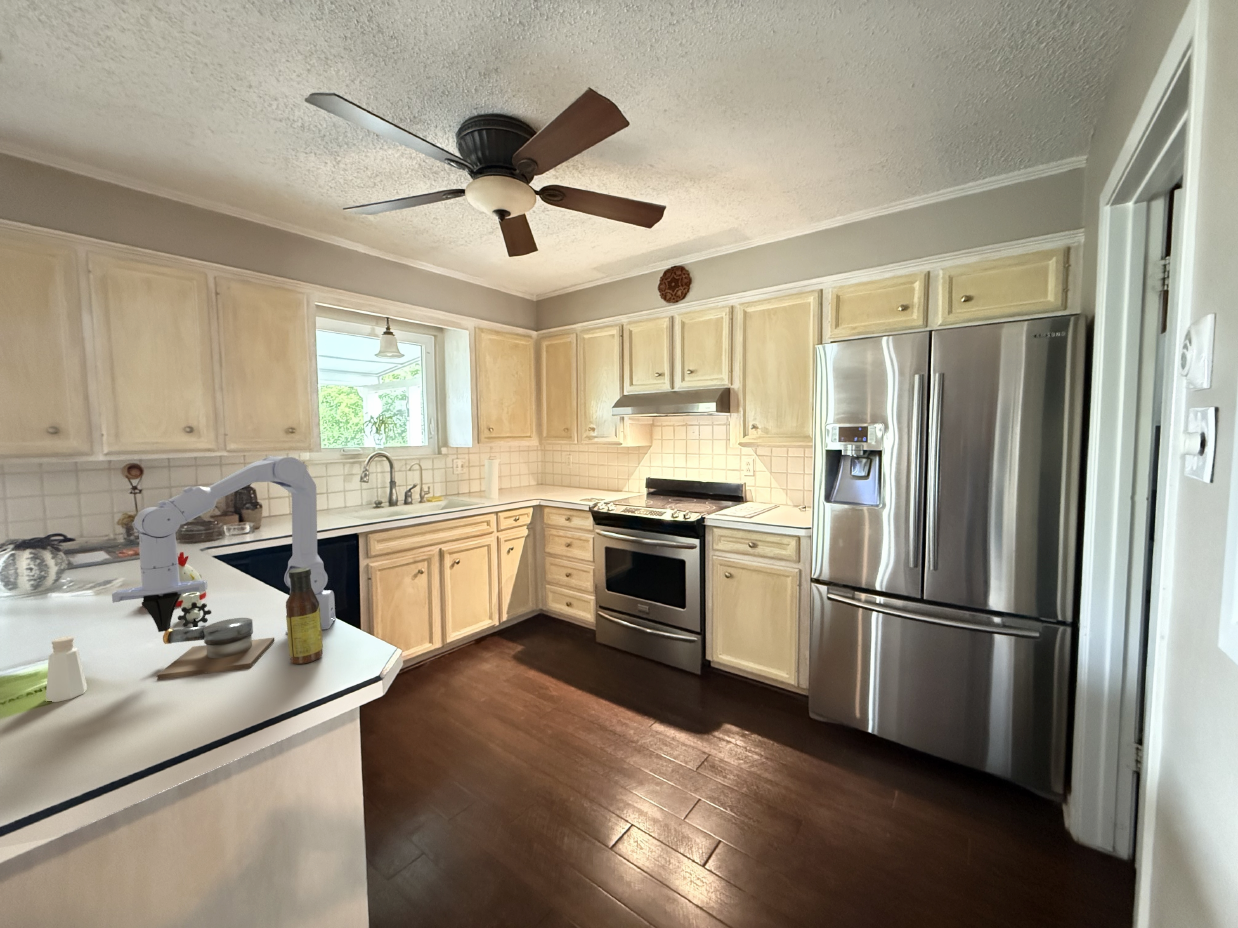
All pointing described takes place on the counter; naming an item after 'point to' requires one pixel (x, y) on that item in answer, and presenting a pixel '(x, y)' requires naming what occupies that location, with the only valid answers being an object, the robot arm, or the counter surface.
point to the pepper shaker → (65, 671)
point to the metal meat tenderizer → (213, 632)
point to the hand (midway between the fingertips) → (164, 629)
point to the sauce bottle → (303, 619)
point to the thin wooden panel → (217, 658)
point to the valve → (193, 610)
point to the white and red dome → (187, 576)
